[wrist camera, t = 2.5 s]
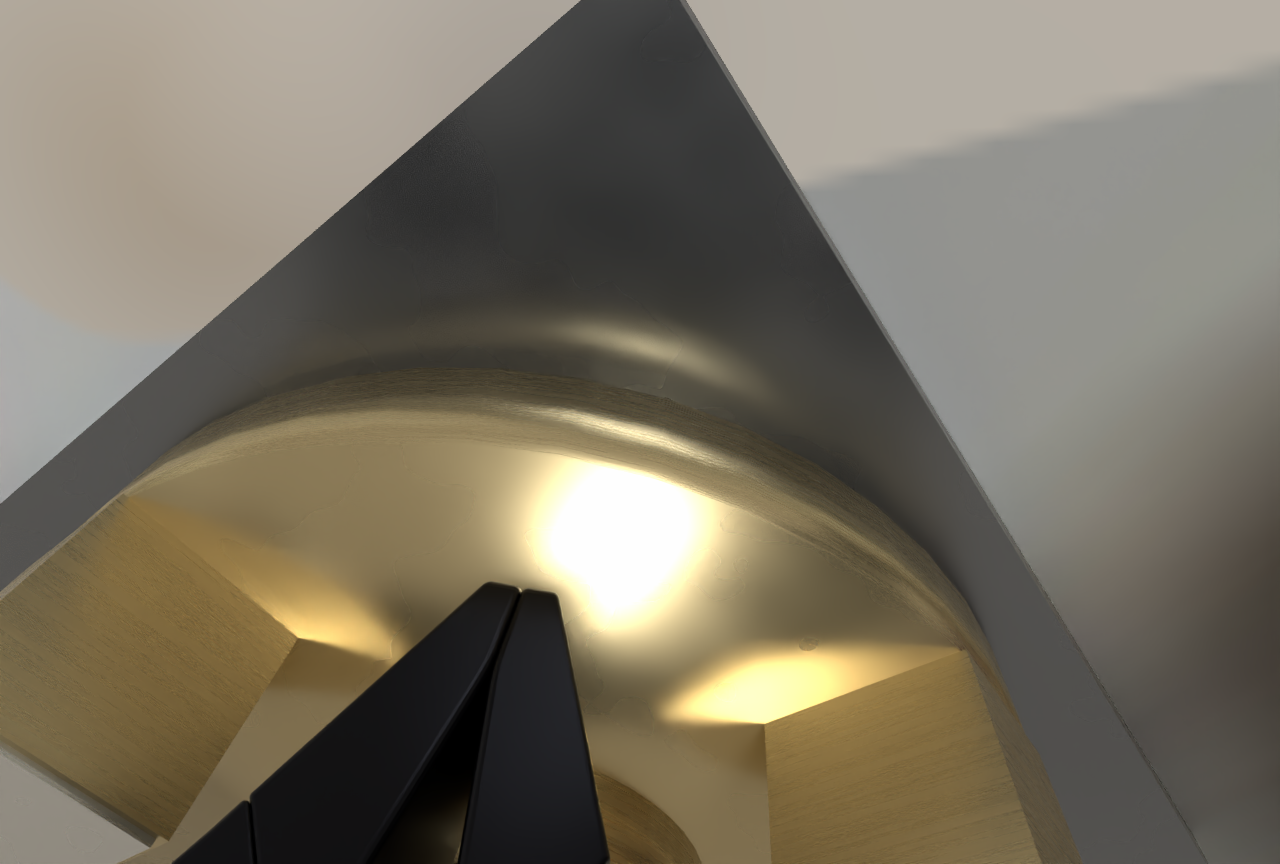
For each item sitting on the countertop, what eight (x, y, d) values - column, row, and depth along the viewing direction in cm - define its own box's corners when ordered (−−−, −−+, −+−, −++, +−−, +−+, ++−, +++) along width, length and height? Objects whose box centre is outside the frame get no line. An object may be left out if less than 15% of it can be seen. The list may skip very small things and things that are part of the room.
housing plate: (653, -54, 9) (644, -56, 8) (1193, 836, 16) (1221, 888, 16) (-102, 597, 16) (-151, 635, 16) (505, 1006, 24) (496, 1048, 23)
